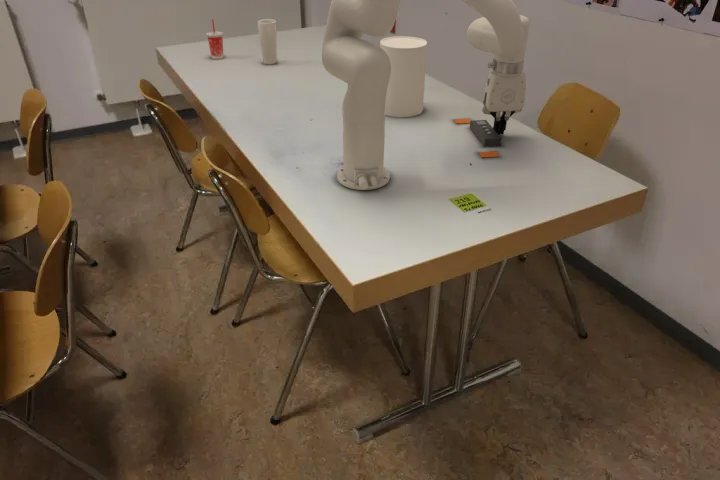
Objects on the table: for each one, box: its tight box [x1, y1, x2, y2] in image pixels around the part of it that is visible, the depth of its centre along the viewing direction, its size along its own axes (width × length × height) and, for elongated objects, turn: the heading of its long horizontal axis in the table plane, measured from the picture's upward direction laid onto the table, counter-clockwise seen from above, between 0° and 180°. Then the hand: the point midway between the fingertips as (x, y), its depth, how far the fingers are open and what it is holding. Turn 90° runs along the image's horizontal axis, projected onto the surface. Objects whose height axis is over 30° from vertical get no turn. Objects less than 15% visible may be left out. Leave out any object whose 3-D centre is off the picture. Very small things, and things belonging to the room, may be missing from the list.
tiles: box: [453, 118, 500, 159], centre depth 157 cm, size 26×5×1 cm, turn 8°
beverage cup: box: [205, 18, 225, 60], centre depth 217 cm, size 6×6×14 cm
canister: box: [379, 35, 428, 118], centre depth 170 cm, size 14×14×20 cm
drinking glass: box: [257, 18, 278, 65], centre depth 211 cm, size 7×7×15 cm
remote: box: [469, 119, 503, 148], centre depth 157 cm, size 13×5×2 cm, turn 8°
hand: (498, 132), depth 158 cm, fingers closed
